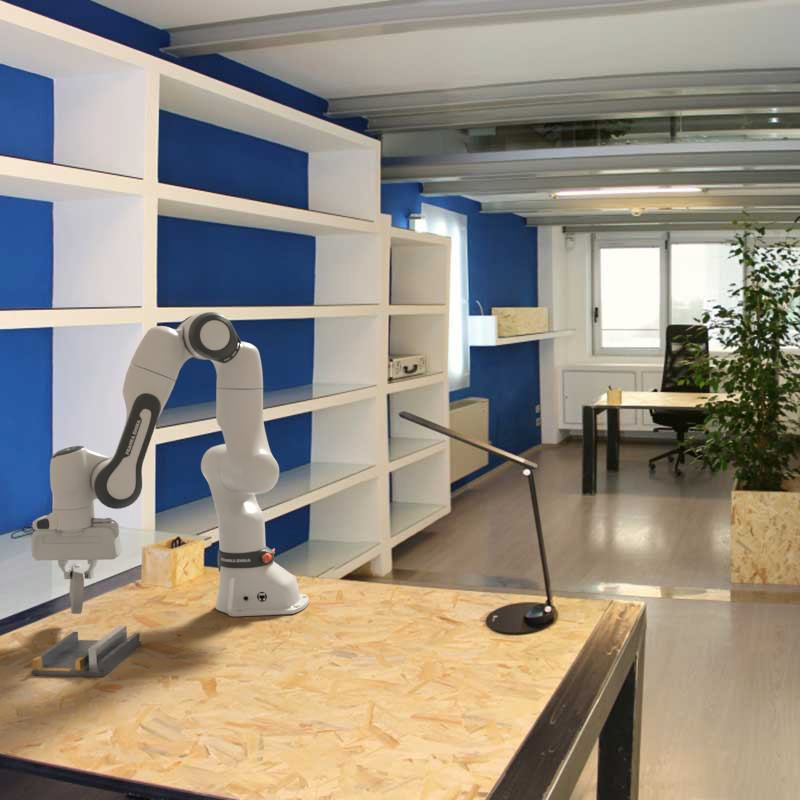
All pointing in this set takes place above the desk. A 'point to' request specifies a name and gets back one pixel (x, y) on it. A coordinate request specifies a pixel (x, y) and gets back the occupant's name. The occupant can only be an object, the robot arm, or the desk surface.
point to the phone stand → (86, 655)
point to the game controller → (76, 589)
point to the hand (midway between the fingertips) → (79, 578)
